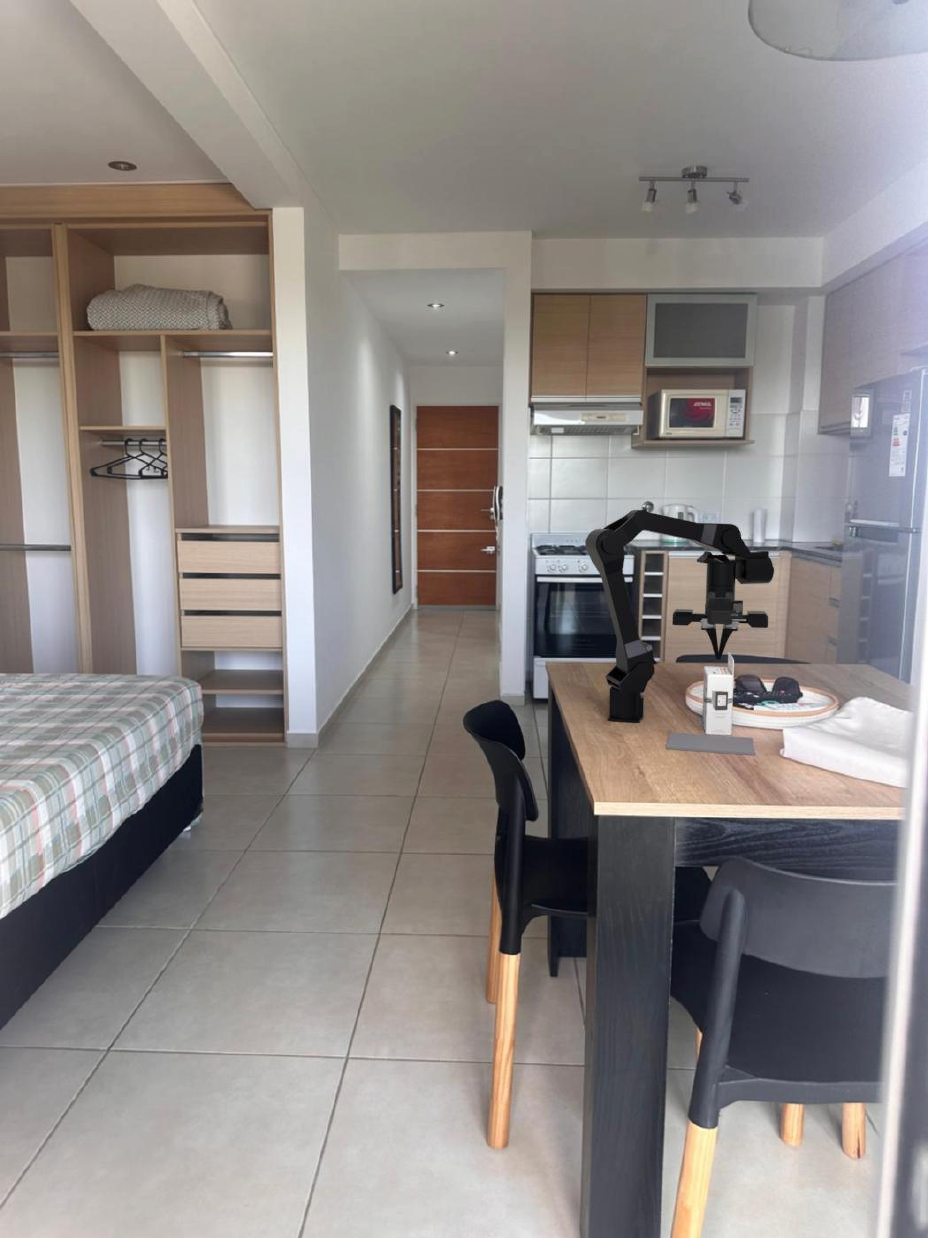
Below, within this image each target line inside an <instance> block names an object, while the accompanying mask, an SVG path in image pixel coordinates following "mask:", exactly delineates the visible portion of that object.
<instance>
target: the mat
mask: <svg viewBox="0 0 928 1238" xmlns="http://www.w3.org/2000/svg"><path fill="white" fill-rule="evenodd" d="M668 735H669V736H668V740H667V743H666V750H677V751H689V752H702V753H703V752H704V753H705V752H706V753H714V754H715V753H716V754H719V753H720V754H728V755H729V754H731V755H732V754H733V755H746V756H755V755H756V751H755V743H754V738H753V737H745V736H744V737H743V736H734V735H733V736H732V735H713V734H701V733H700V734H699V733H687V732H685V733H684V732H672V731H670V732H669V734H668Z"/></svg>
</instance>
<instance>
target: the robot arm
mask: <svg viewBox="0 0 928 1238" xmlns="http://www.w3.org/2000/svg"><path fill="white" fill-rule="evenodd" d="M643 531H645V532H650V533H654V534H659V535H664V536H667V537H673V538H679V539H682V540H687V541H690V542H692V543H694V544H696V545H698V546H699V547H702V548H704V549H707V550H709V551H707V550H705V551H703V554H702V555H700V556H699V557H698V558H697V559H696V563H701V564H706V576H705V577H706V579H705V580H706V582H705V584H706V585H705V604H704V605H705V606H704V613H699V612H698V613H697V612H695V613H694V609H691V608H689V609H688V608H687V609H686V608H683V609H682V608H680V609H679V608H677V609H675V610H674V611H673V612H672V626H684V627H685V626H689V625H690V624H691V623H700V630H702V631H705V632H706V633H707V636H708V637H709V639H710V642H711V647H712V649H713V652H714V655H715V659H716V660H717V661H718V660H719V661H720V660H721V659H722V656H723V654H724V651H725V648H726V646H727V645H726V644H727V642H728V640H729V639H730V637H731V635H732V633H733V632H738V631H739V624H748V625H749V626H750V627H751V628H752V629H753V628H754V629H755V628H756V629H759V628H760V629H767V628H769V615H768V613H767V612H766V611H763V610H747V611H746V614H744V613H743V611H744V600H742V599H741V600H739V599H738V600H736V599H735V598H736V580H737V582H738V583H739V584H741V585H751V584H752V585H756V584H770V583H771V581H772V580H773V578H774V573H775V568H774V565H773V561H772V559H771V557H769V555H770V553H769V552H770V551H768V550H757V551H751V550H750V549H749V548H748V546H747V545H746V543H745V542H744V540H743V539H742V534H741V531H740V529H739V527H738V526H737V525H735V524H732V523H721V522H720V523H717V522H715V523H712V522H708V523H707V522H697V521H696V522H695V521H691V520H685V519H681V518H676V517H672V516H669V515H663V514H658V513H653V512H649V511H648V510H646V509H631V510H630V511H629V512H628V513H626V514H625V515H623V516H622V517H620V518H618V519H617V520H615V521H613V522H611V523H610V524H608V525H606V526H604V527H603V528H596V529H593V530H592V531H590V533H589V534H588V535H587V537H586V539H585V541H584V542H585V544H584V545H585V550H586V551H587V553H588V556H589V558H590V560H591V563H592V564H593V565H594V567H595V569H596V570H597V572H598V574H599V576H600V579H601V582H602V586H603V590H604V594H605V597H606V602H607V605H608V610H609V614H610V617H611V621H612V626H613V629H614V633H615V637H616V649H615V665H614V667H612V669H610V671H609V672H608V673H607V674H606V675H605V679H606V683H607V685H608V686H610V688H609V698H608V699H609V700H608V702H609V703H608V706H609V708H608V717H607V721H612V722H614V721H615V722H629V723H641V721H642V719H643V718H644V716H645V698H646V697H645V695H643V693H645V691H646V688H647V686H648V683H649V681H650V680H651V679H652V678H653V676H654V675H655V669H656V668H655V665H657V664H658V663H657V662H656V659H655V657H654V649H653V646H652V644H649V643H647V642H644V641H642V639H641V637H640V636H639V632H638V627H637V623H636V620H635V619H636V618H635V616H634V611H633V607H632V603H631V599H630V595H629V591H628V588H627V583H626V579H625V575H624V564H625V546H626V545H628V544H630V542H633V541H634V539H635V538H636V537H638V535H640V534H641V533H642V532H643ZM711 551H713V552H720V554H713V553H712V552H711ZM728 556H730V557H734V559H733V558H729V557H728ZM717 625H722V629H721V636H720V640H719V644H718V635H717Z"/></svg>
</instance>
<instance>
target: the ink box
mask: <svg viewBox="0 0 928 1238" xmlns="http://www.w3.org/2000/svg"><path fill="white" fill-rule="evenodd" d="M727 653H728V654H727V666H706V665H705V666H703V685H702V686H703V690H702V691H703V693H702V718H701V719H702V722H701V723H702V726H703V729H704V732H705V735H718V736H732V727H733V726H732V725H733V705H734V703H733V701H734V678H735V677H734V676H735V675H734V672H735V671H734V670H735V669H734V668H735V659H734V657H733V656H732V655H731V654H732V653H730V651H728V652H727Z"/></svg>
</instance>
